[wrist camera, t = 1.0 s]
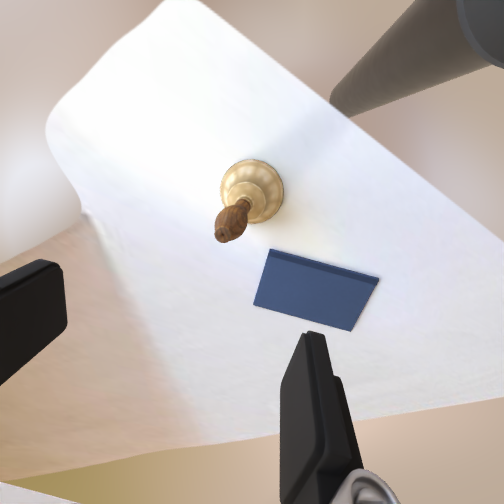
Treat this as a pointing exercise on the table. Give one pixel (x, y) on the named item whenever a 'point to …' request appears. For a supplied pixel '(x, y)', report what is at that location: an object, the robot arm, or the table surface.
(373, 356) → the table surface
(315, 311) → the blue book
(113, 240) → the table surface
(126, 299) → the table surface
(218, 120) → the table surface
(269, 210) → the hand bell
